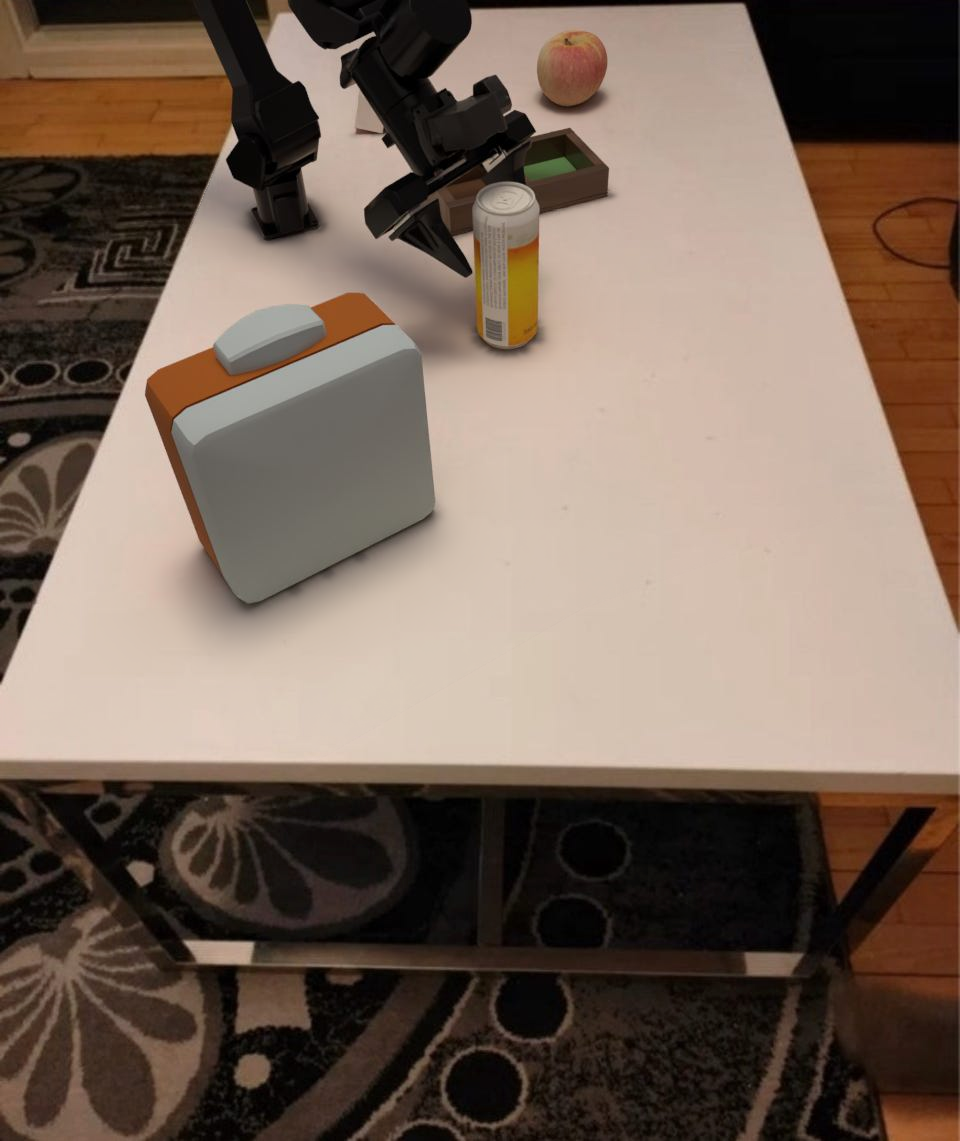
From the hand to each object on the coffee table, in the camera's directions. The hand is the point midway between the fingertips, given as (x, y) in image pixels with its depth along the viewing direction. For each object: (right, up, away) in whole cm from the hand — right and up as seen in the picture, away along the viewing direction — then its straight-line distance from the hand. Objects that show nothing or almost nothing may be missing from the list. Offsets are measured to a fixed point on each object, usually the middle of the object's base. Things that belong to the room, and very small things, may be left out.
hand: (501, 253), depth 95 cm
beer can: (+1, -6, +7) cm, 9 cm away
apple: (+10, +32, +38) cm, 51 cm away
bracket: (-14, +31, +38) cm, 51 cm away
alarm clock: (-16, -27, -9) cm, 32 cm away
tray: (+2, +14, +23) cm, 28 cm away
